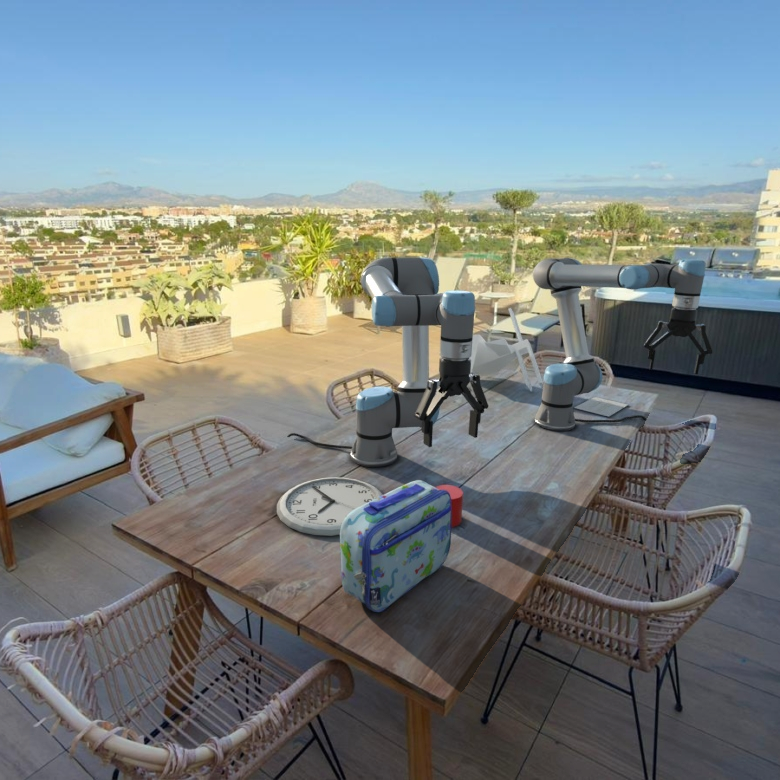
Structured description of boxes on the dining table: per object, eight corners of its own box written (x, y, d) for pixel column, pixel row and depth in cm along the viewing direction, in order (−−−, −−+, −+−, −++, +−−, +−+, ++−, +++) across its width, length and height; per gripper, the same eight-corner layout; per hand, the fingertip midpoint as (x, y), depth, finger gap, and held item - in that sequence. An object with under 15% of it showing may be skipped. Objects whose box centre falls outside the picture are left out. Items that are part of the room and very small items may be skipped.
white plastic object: (478, 420, 264) (457, 397, 239) (460, 347, 286) (438, 319, 261) (549, 396, 251) (535, 369, 227) (524, 322, 273) (509, 290, 249)
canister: (433, 527, 133) (435, 499, 131) (429, 512, 140) (430, 484, 138) (464, 527, 134) (465, 498, 131) (458, 511, 141) (459, 484, 138)
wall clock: (392, 527, 129) (268, 531, 127) (391, 533, 130) (269, 537, 127) (383, 473, 158) (282, 475, 155) (383, 478, 158) (282, 480, 156)
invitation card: (608, 416, 214) (573, 407, 224) (608, 416, 214) (573, 408, 224) (628, 404, 229) (594, 396, 238) (628, 405, 229) (594, 397, 238)
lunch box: (369, 626, 100) (370, 530, 93) (334, 598, 107) (332, 507, 101) (455, 567, 117) (460, 483, 111) (419, 547, 124) (423, 467, 118)
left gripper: (418, 366, 115) (415, 455, 121) (506, 355, 126) (499, 437, 133) (401, 359, 121) (399, 443, 128) (487, 349, 133) (481, 427, 139)
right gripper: (643, 306, 172) (632, 369, 179) (730, 312, 163) (717, 378, 169) (642, 304, 179) (632, 364, 185) (726, 309, 169) (713, 372, 176)
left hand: (450, 440), depth 130 cm, fingers open, 13 cm apart
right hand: (673, 371), depth 177 cm, fingers open, 13 cm apart
